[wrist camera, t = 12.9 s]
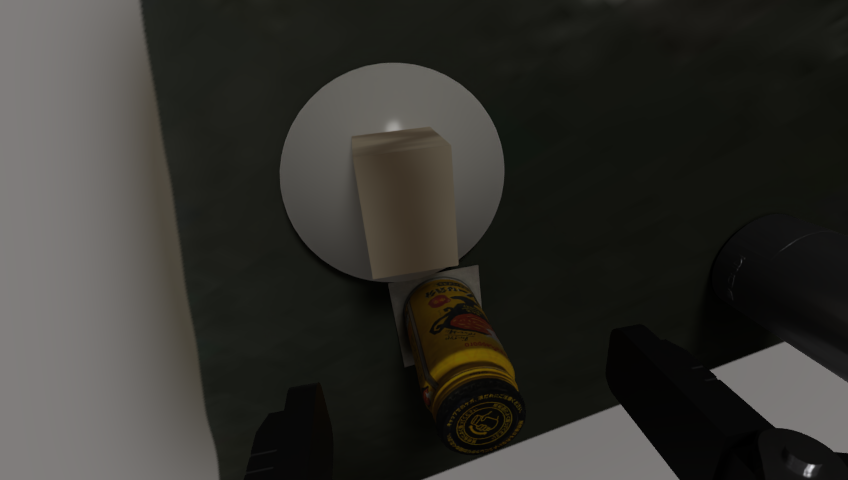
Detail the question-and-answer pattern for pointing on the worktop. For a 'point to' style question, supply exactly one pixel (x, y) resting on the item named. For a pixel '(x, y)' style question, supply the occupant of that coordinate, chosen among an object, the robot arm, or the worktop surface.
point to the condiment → (458, 360)
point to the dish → (374, 113)
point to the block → (406, 200)
